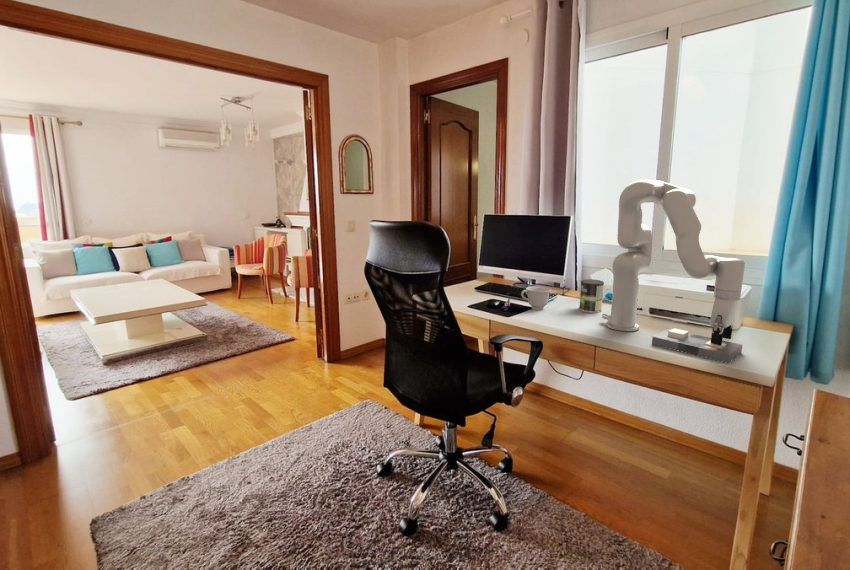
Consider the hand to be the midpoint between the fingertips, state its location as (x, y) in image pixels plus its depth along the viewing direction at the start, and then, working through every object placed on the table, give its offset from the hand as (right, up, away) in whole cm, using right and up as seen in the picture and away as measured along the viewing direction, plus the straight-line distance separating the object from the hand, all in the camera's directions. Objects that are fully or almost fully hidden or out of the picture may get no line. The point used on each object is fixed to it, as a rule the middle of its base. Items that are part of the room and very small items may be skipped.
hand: (720, 341), depth 148 cm
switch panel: (-7, -3, +3) cm, 8 cm away
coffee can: (-25, +8, +55) cm, 60 cm away
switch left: (-11, 0, +7) cm, 13 cm away
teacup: (-51, +8, +58) cm, 77 cm away
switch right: (-4, -3, -2) cm, 5 cm away
